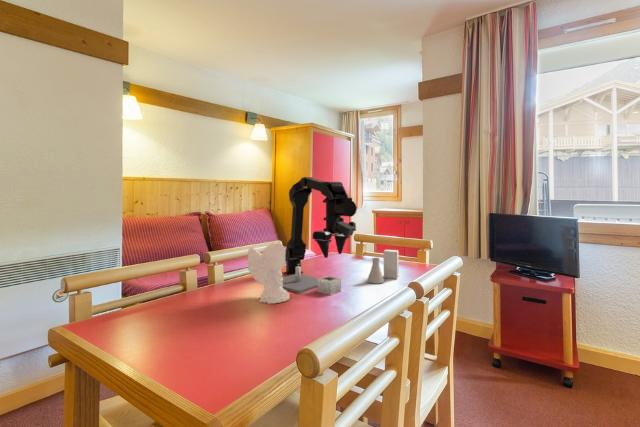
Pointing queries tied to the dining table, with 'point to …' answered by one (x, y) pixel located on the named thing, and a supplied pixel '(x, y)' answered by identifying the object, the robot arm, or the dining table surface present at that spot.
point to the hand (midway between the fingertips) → (333, 255)
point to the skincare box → (391, 264)
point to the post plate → (299, 282)
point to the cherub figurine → (269, 272)
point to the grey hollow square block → (329, 285)
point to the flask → (375, 272)
